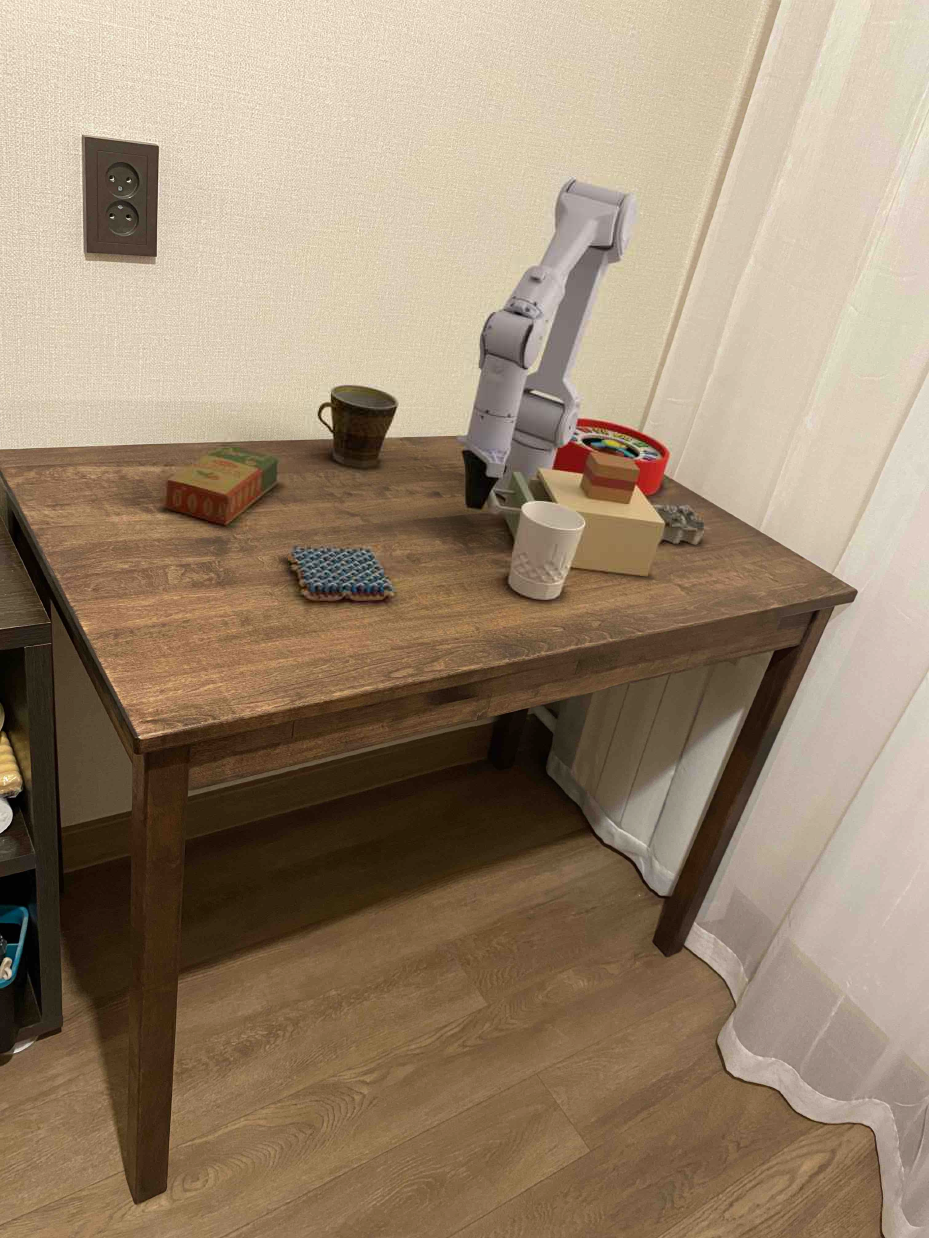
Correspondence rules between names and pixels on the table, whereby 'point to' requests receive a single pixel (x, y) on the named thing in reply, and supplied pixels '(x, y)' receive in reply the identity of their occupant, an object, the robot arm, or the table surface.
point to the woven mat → (340, 574)
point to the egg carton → (680, 524)
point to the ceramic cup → (359, 423)
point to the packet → (609, 478)
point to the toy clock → (614, 451)
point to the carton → (221, 483)
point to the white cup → (544, 549)
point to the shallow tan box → (608, 526)
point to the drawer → (517, 498)
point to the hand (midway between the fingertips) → (473, 506)
